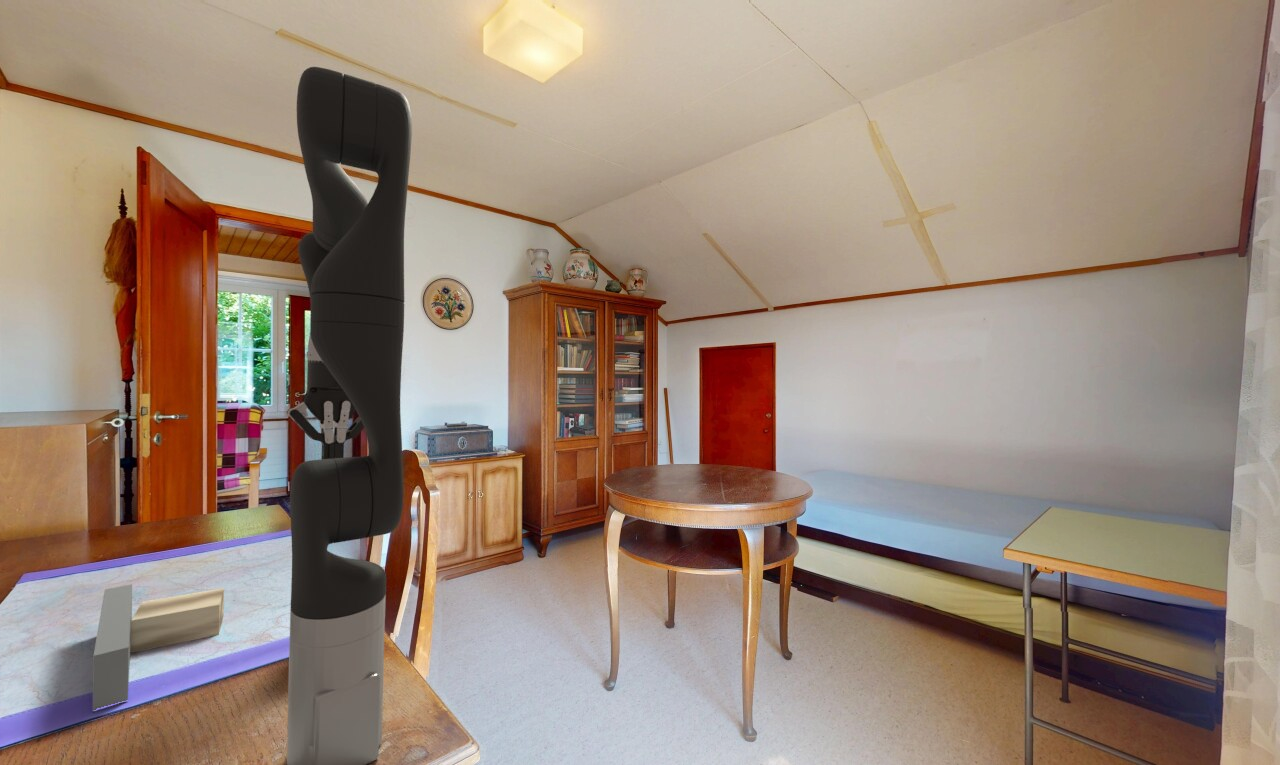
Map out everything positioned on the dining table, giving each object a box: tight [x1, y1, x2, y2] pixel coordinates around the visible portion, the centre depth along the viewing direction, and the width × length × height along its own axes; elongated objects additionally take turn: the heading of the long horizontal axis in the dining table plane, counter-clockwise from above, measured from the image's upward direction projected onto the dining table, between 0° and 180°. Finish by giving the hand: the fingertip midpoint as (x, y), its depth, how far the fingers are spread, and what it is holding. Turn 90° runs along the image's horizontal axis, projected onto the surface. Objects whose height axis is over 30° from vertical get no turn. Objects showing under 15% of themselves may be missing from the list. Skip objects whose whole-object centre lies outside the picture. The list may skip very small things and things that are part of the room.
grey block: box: [92, 583, 133, 711], centre depth 71 cm, size 24×3×7 cm, turn 45°
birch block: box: [130, 587, 225, 654], centre depth 79 cm, size 7×10×5 cm
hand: (332, 465), depth 82 cm, fingers closed
